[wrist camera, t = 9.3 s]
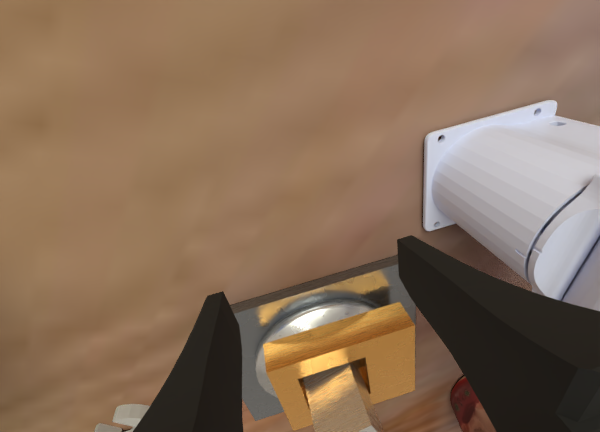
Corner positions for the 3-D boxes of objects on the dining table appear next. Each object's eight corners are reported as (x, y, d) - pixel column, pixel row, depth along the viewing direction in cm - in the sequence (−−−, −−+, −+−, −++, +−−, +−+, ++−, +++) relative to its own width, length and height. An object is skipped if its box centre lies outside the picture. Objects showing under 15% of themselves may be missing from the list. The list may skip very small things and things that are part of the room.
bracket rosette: (409, 251, 26) (441, 288, 22) (410, 360, 34) (433, 400, 30) (199, 314, 24) (194, 365, 21) (254, 411, 33) (258, 459, 29)
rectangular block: (339, 338, 26) (371, 425, 20) (355, 359, 28) (388, 444, 22) (298, 358, 27) (318, 450, 21) (317, 378, 29) (341, 467, 23)
